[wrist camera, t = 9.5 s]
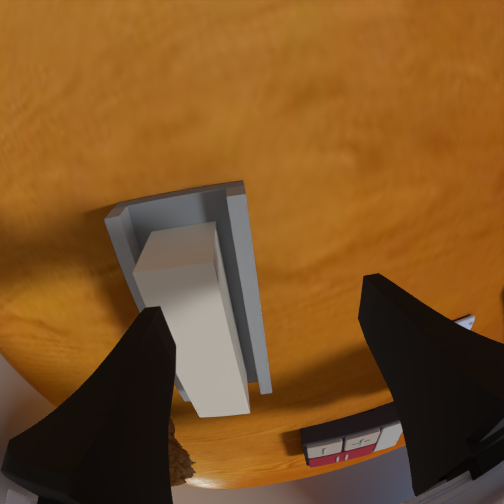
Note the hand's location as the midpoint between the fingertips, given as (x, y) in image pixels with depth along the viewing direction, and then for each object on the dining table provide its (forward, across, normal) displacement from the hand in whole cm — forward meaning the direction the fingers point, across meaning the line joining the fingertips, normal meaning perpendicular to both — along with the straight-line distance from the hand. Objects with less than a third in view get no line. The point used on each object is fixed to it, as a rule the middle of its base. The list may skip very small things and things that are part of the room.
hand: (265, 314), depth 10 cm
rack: (+9, +4, +7) cm, 12 cm away
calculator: (+10, -11, +36) cm, 38 cm away
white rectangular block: (+8, +4, +7) cm, 12 cm away
